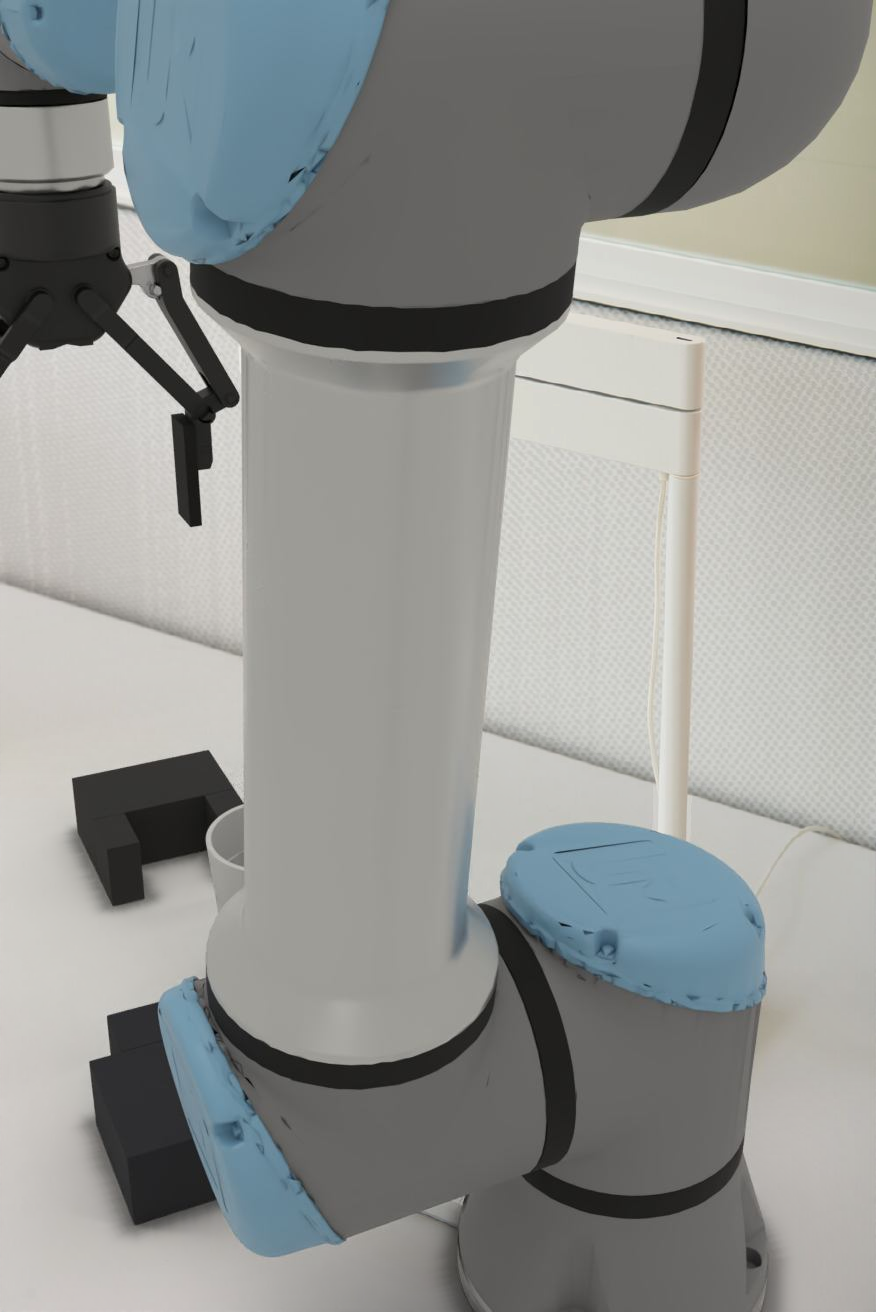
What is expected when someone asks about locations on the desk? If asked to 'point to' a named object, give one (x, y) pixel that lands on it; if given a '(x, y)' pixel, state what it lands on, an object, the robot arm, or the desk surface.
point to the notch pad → (148, 816)
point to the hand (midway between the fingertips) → (82, 536)
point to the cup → (226, 854)
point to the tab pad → (145, 1120)
